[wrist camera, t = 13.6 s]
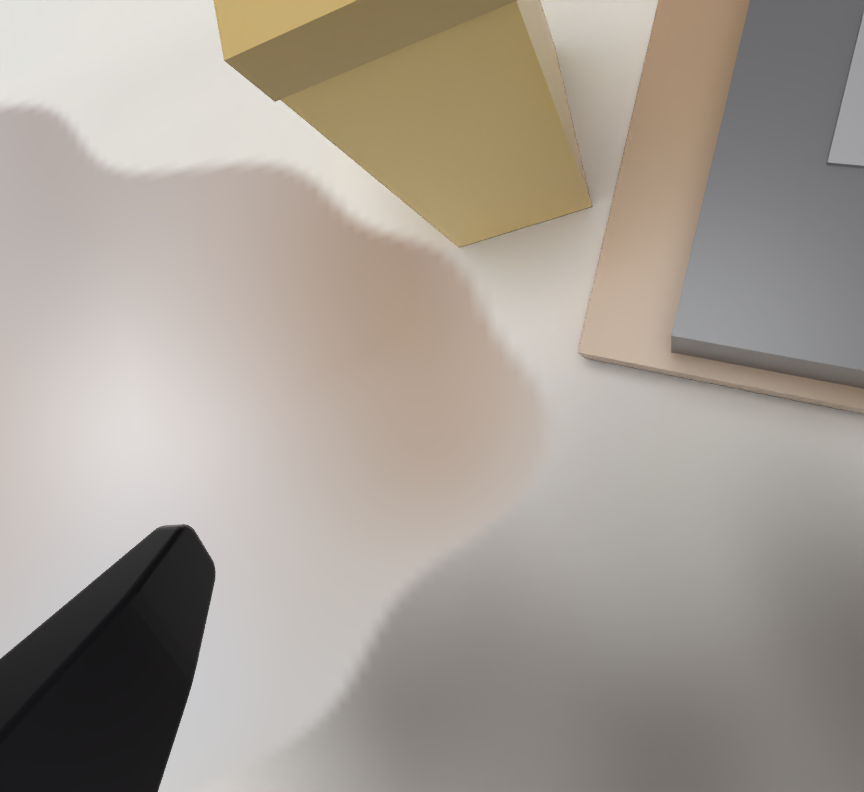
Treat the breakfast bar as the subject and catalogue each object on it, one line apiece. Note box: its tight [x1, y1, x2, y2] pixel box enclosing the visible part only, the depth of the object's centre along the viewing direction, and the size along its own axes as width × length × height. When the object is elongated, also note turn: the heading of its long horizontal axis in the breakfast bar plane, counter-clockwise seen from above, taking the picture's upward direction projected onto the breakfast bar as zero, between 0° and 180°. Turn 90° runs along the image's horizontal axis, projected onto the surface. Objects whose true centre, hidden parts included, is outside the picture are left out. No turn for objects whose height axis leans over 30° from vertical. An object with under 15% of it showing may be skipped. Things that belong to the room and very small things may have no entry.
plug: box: [214, 0, 592, 247], centre depth 13 cm, size 4×4×10 cm
